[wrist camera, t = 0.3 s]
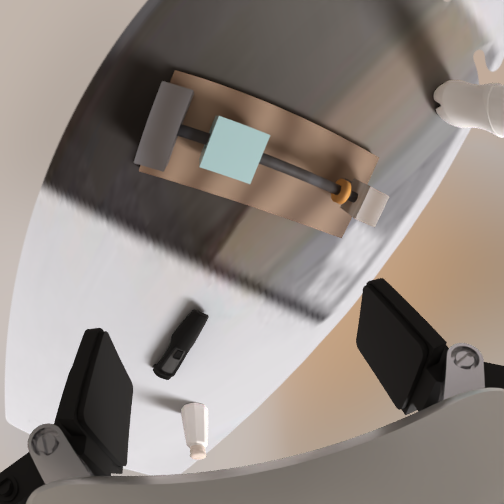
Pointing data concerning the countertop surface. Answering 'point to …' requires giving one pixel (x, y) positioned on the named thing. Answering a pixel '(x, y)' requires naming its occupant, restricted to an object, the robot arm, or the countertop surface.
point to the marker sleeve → (233, 149)
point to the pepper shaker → (195, 428)
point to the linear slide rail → (271, 163)
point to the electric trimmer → (180, 344)
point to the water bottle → (472, 105)
